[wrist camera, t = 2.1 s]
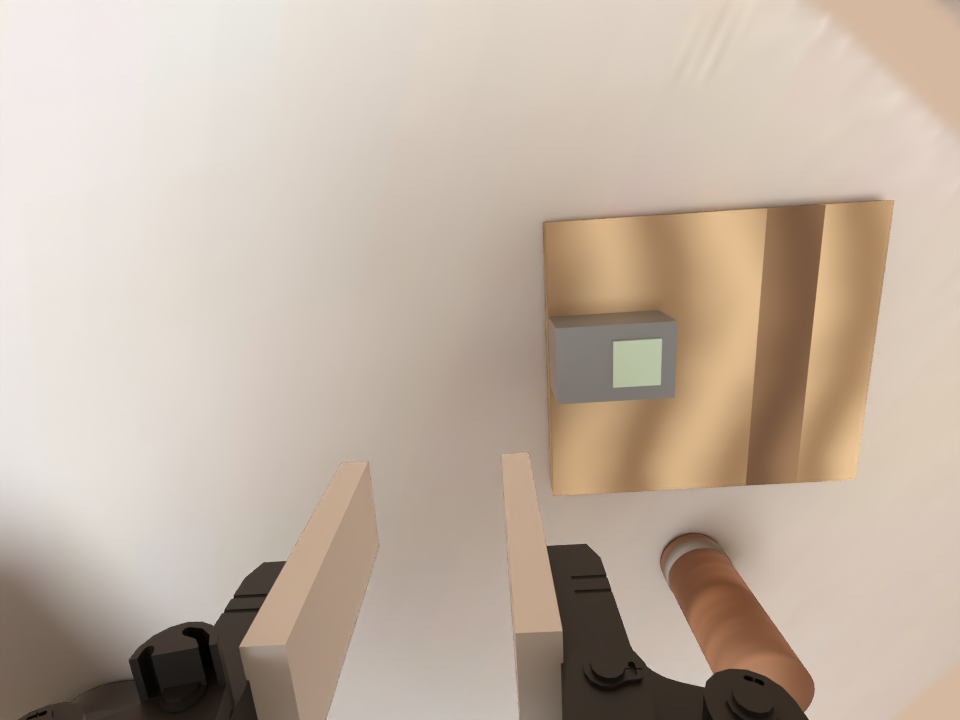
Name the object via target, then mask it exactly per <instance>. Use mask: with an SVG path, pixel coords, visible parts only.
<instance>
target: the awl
mask: <svg viewBox="0 0 960 720" xmlns="http://www.w3.org/2000/svg"><path fill="white" fill-rule="evenodd" d="M661 568H662V571H663V575H664V577H665V579H666V581H667V583H668V586H669V588H670V589H671V591H672V592H673V594H674V596H675V598H676V600H677V602H678V604H679V606H680V608H681V610H682V612H683V614H684V616H685V618H686V620H687V622H688V624H689V626H690V628H691V630H692V632H693V634H694V636H695V638H696V640H697V642H698V644H699V646H700V648H701V650H702V652H703V654H704V656H705V658H706V660H707V662H708V664H709V666H710V668H711V670H712V672H713V674H715V673H716V672H719V671H722V670H726V669H729V668H731V669H746V670H750V671H752V672H755V673H758V674H761V675H764V676H766V677H768V678H769V679H771V680H772V681H774V682H776V683H777V684H779V685H780V686H782V687H783V688H784V689H785V690H786V691H787V692H788V693H789V694H790V696H791V697H792V698H793V699H794V700H795V701H796V702H797V704H798V705H799V706H800V708H801V709H802V711H803V712H805V711H806V710H807V708H808V707H809V705H810V704H811V702H812V699H813V697H814V690H815V688H814V682H813V679H812V677H811V675H810V674H809V673H808V671H807V670H806V668H805V667H804V666H803V664H802V663H801V661H800V660H799V658H798V657H797V656H796V654H795V653H794V651H793V650H792V649H791V647H790V646H789V644H788V643H787V641H786V640H785V639H784V637H783V636H782V634H781V633H780V632H779V630H778V629H777V627H776V626H775V624H774V623H773V622H772V620H771V619H770V617H769V616H768V615H767V613H766V612H765V610H764V609H763V607H762V606H761V605H760V603H759V602H758V600H757V599H756V598H755V596H754V595H753V593H752V592H751V590H750V589H749V588H748V586H747V585H746V583H745V582H744V581H743V579H742V578H741V576H740V575H739V573H738V572H737V571H736V569H735V568H734V566H733V565H732V563H731V561H730V559H729V558H728V556H727V555H726V554H725V552H724V551H723V549H722V548H721V547H720V546H719V545H718V544H717V543H716V542H715V541H714V540H713V539H711V538H709V537H707V536H705V535H700V534H689V535H685V536H682V537H679V538H677V539H676V540H674V541H673V542H671V543H670V544H669V545H668V546H667V548H666V549H665V551H664V552H663V555H662V558H661Z"/></svg>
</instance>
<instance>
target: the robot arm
mask: <svg viewBox="0 0 960 720" xmlns="http://www.w3.org/2000/svg"><path fill="white" fill-rule="evenodd" d="M501 459H502V476H503V494H504V511H505V529H506V545H507V558H508V572H509V586H510V599H511V613H512V626H513V640H514V654H515V667H516V681H517V695H518V708H519V720H809V719H808V718H807V716H806V715H805V714H804V712H803V711H802V709H801V708H800V706H799V705H798V704H797V702H796V701H795V700H794V699H793V698H792V697H791V696H790V694H789V693H788V692H787V691H786V690H785V689H784V688H783V687H782V686H780V685H779V684H777V683H776V682H774V681H772V680H771V679H769V678H768V677H766V676H764V675H761V674H758V673H755V672H752V671H750V670H746V669H731V668H729V669H726V670H722V671H719V672H716V673H715V674H714V675H713V676H711V677H710V678H709V679H708V680H707V681H706V686H705V688H703V687H699V686H695V685H690V684H686V683H682V682H678V681H674V680H671V679H668V678H665V677H663V676H661V675H659V674H657V673H656V672H654V671H652V670H651V669H649V668H648V667H647V666H646V664H645V663H644V662H643V660H642V659H641V658H640V657H639V656H638V655H637V654H636V653H635V652H634V651H633V649H632V647H631V645H630V643H629V640H628V637H627V634H626V631H625V628H624V625H623V622H622V619H621V616H620V613H619V611H618V608H617V605H616V602H615V599H614V596H613V593H612V592H611V587H610V584H609V581H608V578H607V577H606V572H605V569H604V567H603V564H602V561H601V558H600V557H599V556H598V555H597V554H596V553H595V552H594V551H593V550H592V549H591V548H590V547H589V546H588V545H587V544H575V545H556V546H546V542H545V537H544V531H543V526H542V521H541V516H540V510H539V505H538V500H537V495H536V490H535V484H534V479H533V474H532V469H531V463H530V458H529V453H528V452H526V453H508V454H501ZM378 549H379V539H378V532H377V524H376V516H375V509H374V501H373V493H372V486H371V478H370V471H369V463H368V461H366V462H348V463H341V465H340V466H339V468H338V470H337V472H336V474H335V475H334V477H333V479H332V481H331V483H330V484H329V486H328V488H327V490H326V492H325V493H324V495H323V497H322V499H321V500H320V502H319V504H318V506H317V508H316V509H315V511H314V513H313V515H312V517H311V518H310V520H309V522H308V524H307V526H306V527H305V529H304V531H303V533H302V535H301V536H300V538H299V540H298V542H297V544H296V545H295V547H294V549H293V551H292V553H291V554H290V556H289V558H288V560H287V561H282V562H264V563H262V564H261V565H260V566H259V567H258V568H256V569H255V570H254V571H253V572H252V573H250V574H249V575H248V576H247V577H246V578H245V579H244V580H243V582H242V583H241V585H240V587H239V588H238V590H237V591H236V593H235V594H234V598H233V599H231V601H230V602H229V604H228V605H227V607H226V608H225V611H224V614H221V616H220V618H219V619H218V621H217V622H216V624H215V625H214V626H213V625H210V624H207V623H205V622H186V623H183V624H179V625H176V626H173V627H170V628H168V629H166V630H164V631H162V632H160V633H158V634H156V635H154V636H153V637H151V638H150V639H149V640H147V641H146V642H145V643H144V644H142V645H141V646H140V647H139V648H138V649H137V650H136V651H135V653H134V654H133V655H132V656H131V658H130V659H129V664H130V667H131V670H132V674H133V677H134V680H135V681H123V682H116V683H111V684H106V685H103V686H100V687H97V688H94V689H92V690H90V691H87V692H86V693H84V694H82V695H80V696H79V697H77V698H76V699H75V700H73V701H72V702H71V703H68V702H64V703H58V704H52V705H48V706H45V707H43V708H40V709H38V710H35V711H33V712H30V713H28V714H27V715H25V716H23V717H22V718H20V719H18V720H326V718H327V715H328V712H329V709H330V705H331V702H332V699H333V696H334V692H335V689H336V686H337V683H338V679H339V676H340V673H341V669H342V666H343V663H344V660H345V656H346V653H347V650H348V647H349V643H350V640H351V637H352V634H353V630H354V627H355V624H356V621H357V617H358V614H359V611H360V607H361V604H362V601H363V598H364V594H365V591H366V588H367V585H368V581H369V578H370V575H371V572H372V568H373V565H374V562H375V558H376V555H377V552H378Z"/></svg>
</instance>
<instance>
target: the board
mask: <svg viewBox="0 0 960 720" xmlns="http://www.w3.org/2000/svg"><path fill="white" fill-rule="evenodd" d="M893 207H894V200H883V201H864V202H849V203H834V204H818V205H803V206H788V207H772V208H757V209H742V210H726V211H711V212H696V213H680V214H665V215H650V216H634V217H619V218H604V219H588V220H573V221H558V222H543V238H544V270H545V303H546V336H547V368H548V401H549V434H550V466H551V488H552V492H553V496H562V495H581V494H599V493H617V492H635V491H654V490H672V489H690V488H709V487H727V486H745V485H764V484H782V483H800V482H819V481H837V480H855V479H856V472H857V465H858V458H859V451H860V444H861V436H862V429H863V422H864V415H865V408H866V400H867V393H868V386H869V379H870V372H871V365H872V357H873V350H874V343H875V336H876V329H877V322H878V314H879V307H880V300H881V293H882V286H883V278H884V271H885V264H886V257H887V250H888V243H889V235H890V228H891V221H892V214H893ZM652 310H659V311H661V312H663V313H664V314H666V315H668V316H670V317H671V318H673V319H675V320H677V321H678V325H677V352H676V379H675V398H660V399H643V400H626V401H609V402H592V403H574V404H557V402H556V399H555V397H554V394H553V392H552V389H551V386H550V357H549V323H548V317H554V316H571V315H587V314H603V313H619V312H636V311H652Z"/></svg>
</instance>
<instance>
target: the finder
mask: <svg viewBox="0 0 960 720" xmlns="http://www.w3.org/2000/svg"><path fill="white" fill-rule="evenodd" d="M548 323H549V357H550V386H551V389H552V392H553V394H554V397H555V399H556V402H557V404H574V403H592V402H609V401H626V400H643V399H660V398H675V379H676V352H677V325H678V321H677V320H675V319H673V318H671V317H670V316H668V315H666V314H664V313H663V312H661V311H659V310H652V311H636V312H619V313H603V314H587V315H571V316H554V317H548Z"/></svg>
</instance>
